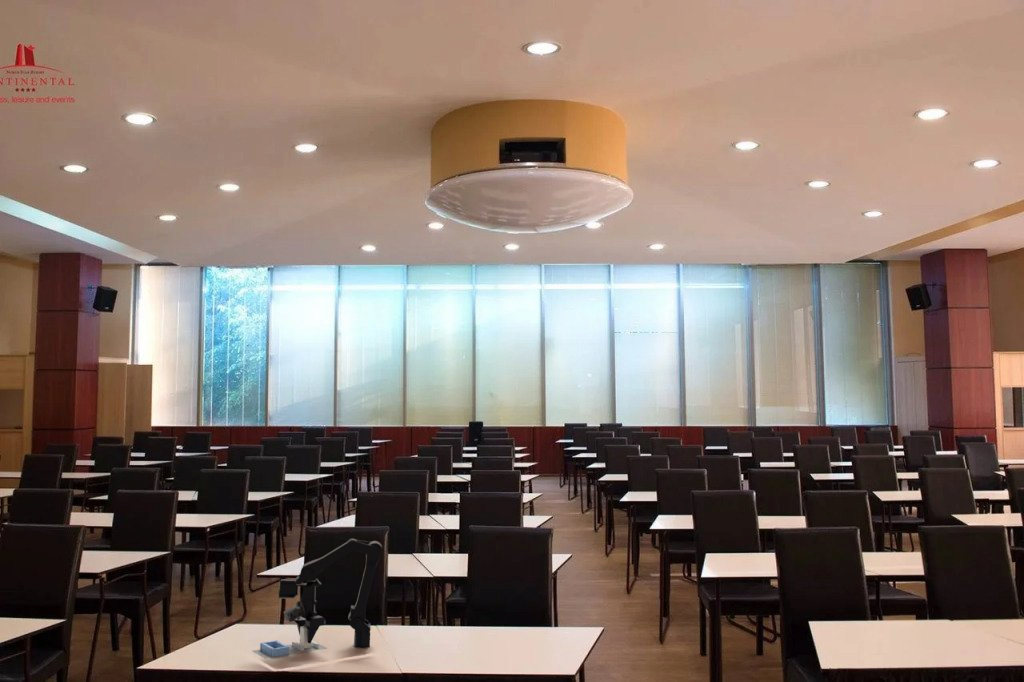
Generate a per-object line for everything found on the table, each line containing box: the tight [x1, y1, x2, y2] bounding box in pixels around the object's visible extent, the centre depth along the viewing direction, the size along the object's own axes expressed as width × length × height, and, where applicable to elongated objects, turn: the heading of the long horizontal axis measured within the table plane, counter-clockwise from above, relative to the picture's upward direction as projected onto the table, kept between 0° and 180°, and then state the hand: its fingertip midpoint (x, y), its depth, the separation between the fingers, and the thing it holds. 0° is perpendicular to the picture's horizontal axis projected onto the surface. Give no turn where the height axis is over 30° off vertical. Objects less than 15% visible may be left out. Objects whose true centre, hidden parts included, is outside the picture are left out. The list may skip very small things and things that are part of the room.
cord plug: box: [299, 624, 313, 648], centre depth 314 cm, size 3×3×8 cm
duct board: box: [252, 640, 327, 659], centre depth 309 cm, size 12×24×4 cm, turn 129°
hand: (305, 641), depth 313 cm, fingers open, 6 cm apart
